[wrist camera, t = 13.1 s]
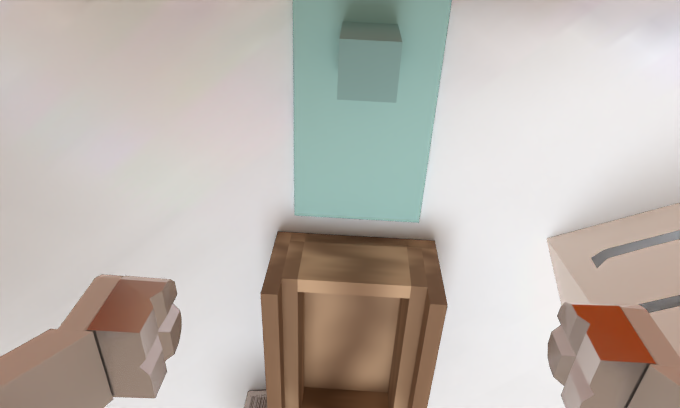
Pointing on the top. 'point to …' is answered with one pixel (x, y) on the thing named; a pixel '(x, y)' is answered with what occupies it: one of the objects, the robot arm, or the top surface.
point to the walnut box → (351, 321)
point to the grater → (623, 266)
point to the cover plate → (365, 105)
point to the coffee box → (256, 399)
